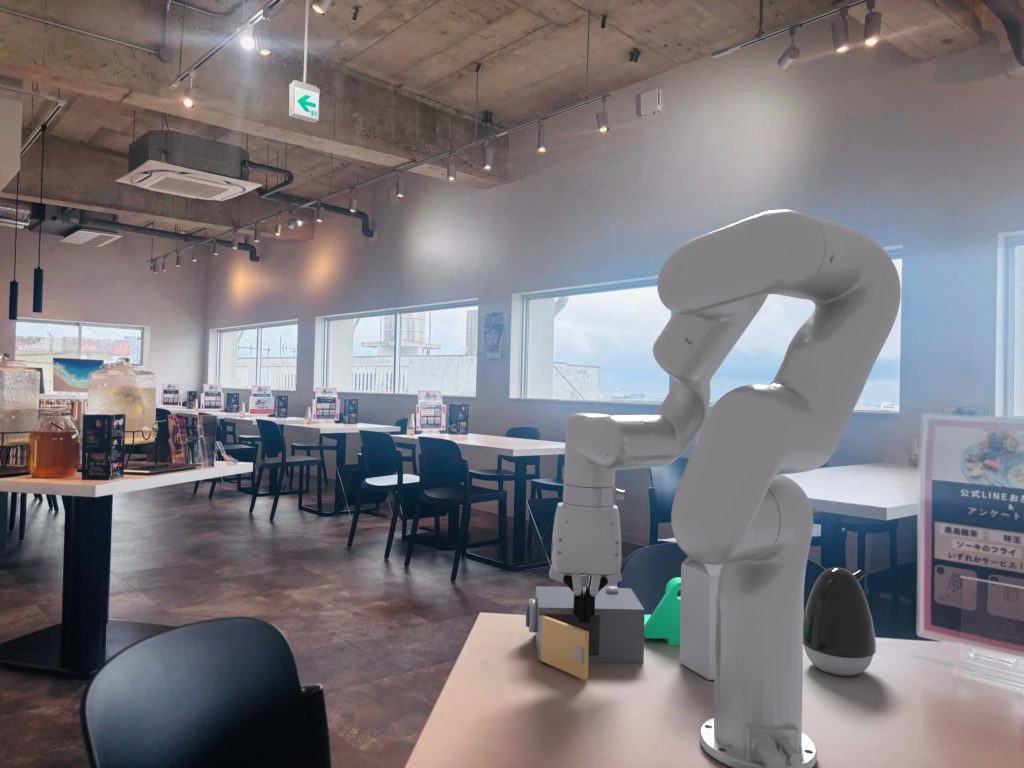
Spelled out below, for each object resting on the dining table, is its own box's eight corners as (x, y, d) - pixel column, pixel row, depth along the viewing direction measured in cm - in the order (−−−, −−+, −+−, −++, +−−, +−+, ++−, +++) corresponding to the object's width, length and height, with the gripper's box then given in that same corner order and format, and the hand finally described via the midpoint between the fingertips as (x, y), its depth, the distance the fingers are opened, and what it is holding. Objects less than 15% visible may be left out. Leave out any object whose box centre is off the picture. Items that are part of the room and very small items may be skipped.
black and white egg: (892, 676, 103) (893, 572, 103) (842, 687, 99) (843, 578, 99) (833, 653, 112) (834, 557, 113) (785, 662, 108) (787, 562, 108)
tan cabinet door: (581, 680, 98) (582, 633, 98) (535, 659, 105) (536, 616, 105) (588, 678, 99) (589, 631, 99) (541, 657, 106) (542, 614, 106)
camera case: (643, 663, 106) (644, 605, 106) (526, 660, 106) (527, 602, 106) (630, 636, 118) (630, 584, 119) (524, 633, 118) (526, 581, 119)
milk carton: (749, 675, 102) (750, 544, 103) (708, 681, 100) (710, 547, 100) (717, 658, 109) (719, 535, 109) (679, 663, 106) (681, 537, 107)
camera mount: (705, 630, 123) (706, 571, 123) (719, 646, 115) (720, 583, 115) (637, 629, 123) (638, 570, 123) (646, 644, 115) (647, 581, 115)
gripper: (634, 494, 108) (629, 613, 108) (537, 490, 108) (532, 610, 108) (643, 503, 100) (638, 631, 100) (539, 498, 100) (533, 627, 100)
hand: (583, 619), depth 104 cm, fingers closed
